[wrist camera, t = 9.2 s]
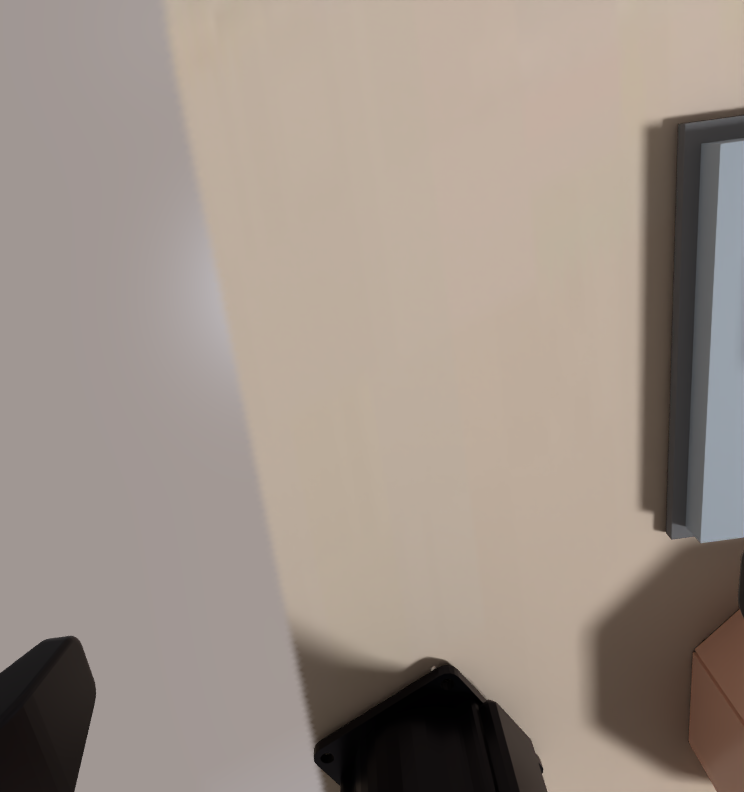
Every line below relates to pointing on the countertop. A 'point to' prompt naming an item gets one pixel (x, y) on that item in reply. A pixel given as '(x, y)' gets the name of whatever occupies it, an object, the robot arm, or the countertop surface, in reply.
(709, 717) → the dish
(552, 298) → the countertop surface
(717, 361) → the lid
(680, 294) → the mat
